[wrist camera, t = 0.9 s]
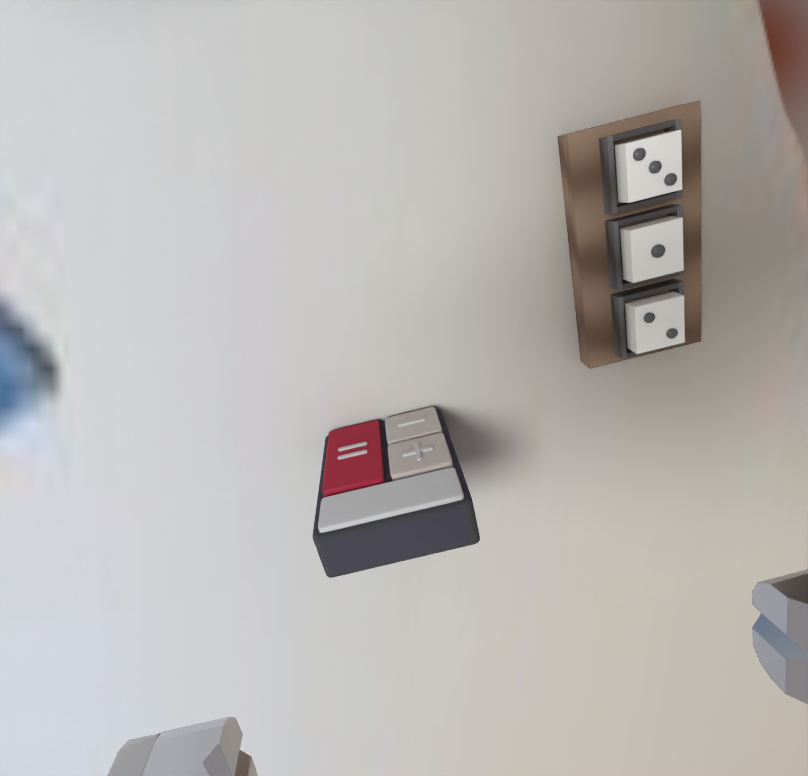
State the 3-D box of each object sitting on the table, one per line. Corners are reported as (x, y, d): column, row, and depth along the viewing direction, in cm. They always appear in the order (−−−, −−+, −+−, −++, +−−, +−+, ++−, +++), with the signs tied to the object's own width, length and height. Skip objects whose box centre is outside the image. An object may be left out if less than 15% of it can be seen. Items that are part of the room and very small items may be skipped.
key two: (624, 303, 42) (635, 308, 40) (672, 291, 42) (685, 295, 40) (627, 348, 43) (638, 354, 42) (673, 336, 43) (686, 343, 42)
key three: (614, 145, 37) (626, 143, 36) (668, 131, 37) (683, 129, 36) (618, 202, 39) (630, 203, 37) (669, 189, 39) (683, 189, 37)
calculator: (438, 400, 47) (471, 492, 33) (447, 440, 49) (481, 543, 35) (323, 427, 47) (307, 530, 33) (335, 466, 49) (326, 580, 35)
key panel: (557, 136, 39) (574, 132, 36) (684, 104, 39) (712, 97, 36) (580, 361, 47) (596, 374, 44) (687, 334, 47) (711, 346, 43)
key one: (620, 228, 40) (631, 230, 38) (670, 216, 39) (684, 217, 38) (623, 279, 41) (634, 283, 39) (672, 267, 41) (685, 270, 39)
